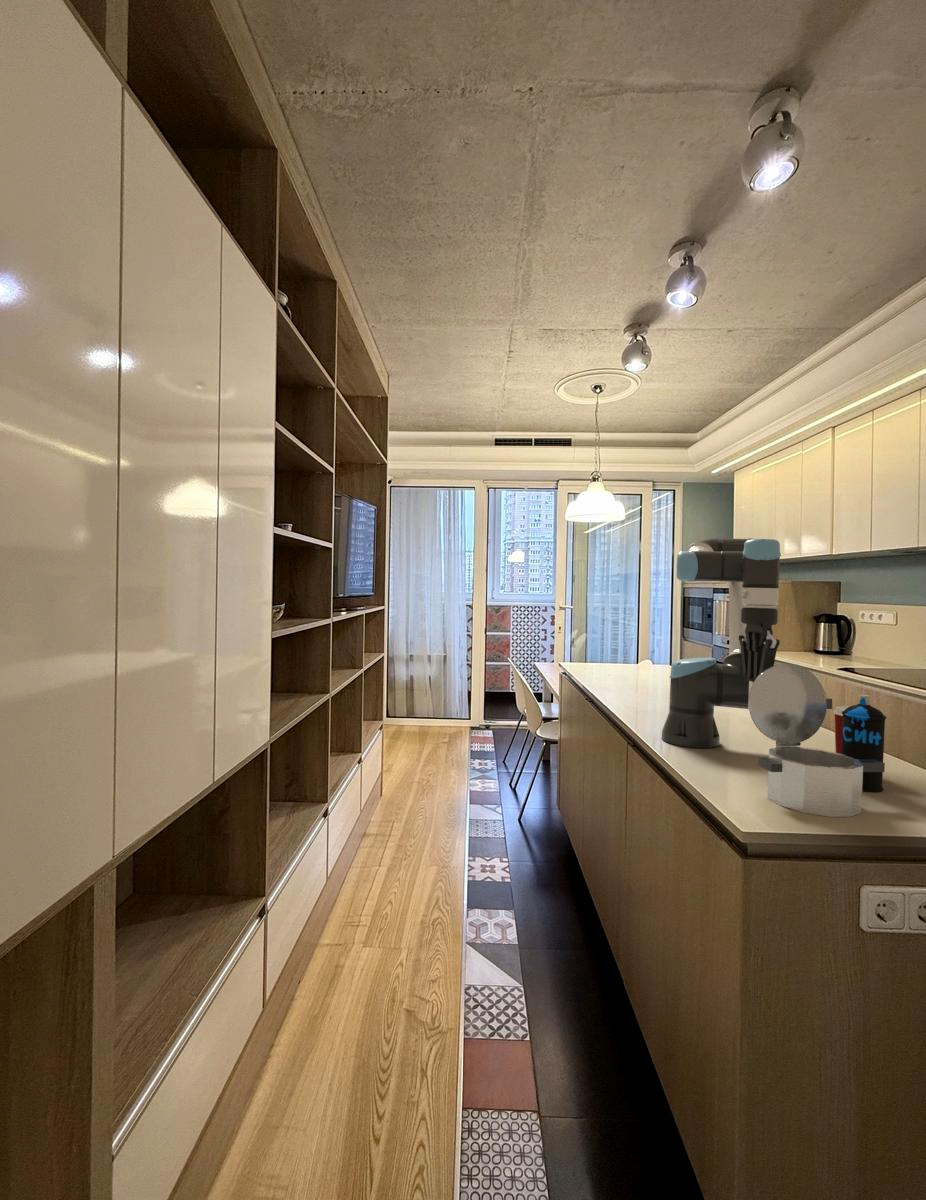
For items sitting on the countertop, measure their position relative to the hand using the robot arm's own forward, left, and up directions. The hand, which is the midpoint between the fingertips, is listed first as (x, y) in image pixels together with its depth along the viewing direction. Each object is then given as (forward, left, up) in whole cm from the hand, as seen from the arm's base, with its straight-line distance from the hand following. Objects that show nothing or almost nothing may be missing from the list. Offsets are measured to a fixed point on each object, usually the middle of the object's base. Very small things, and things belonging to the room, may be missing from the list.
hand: (755, 709), depth 139 cm
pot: (+17, +4, -15) cm, 23 cm away
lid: (+9, +3, +3) cm, 10 cm away
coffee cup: (-3, +26, -15) cm, 30 cm away
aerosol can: (+8, +20, -15) cm, 26 cm away
